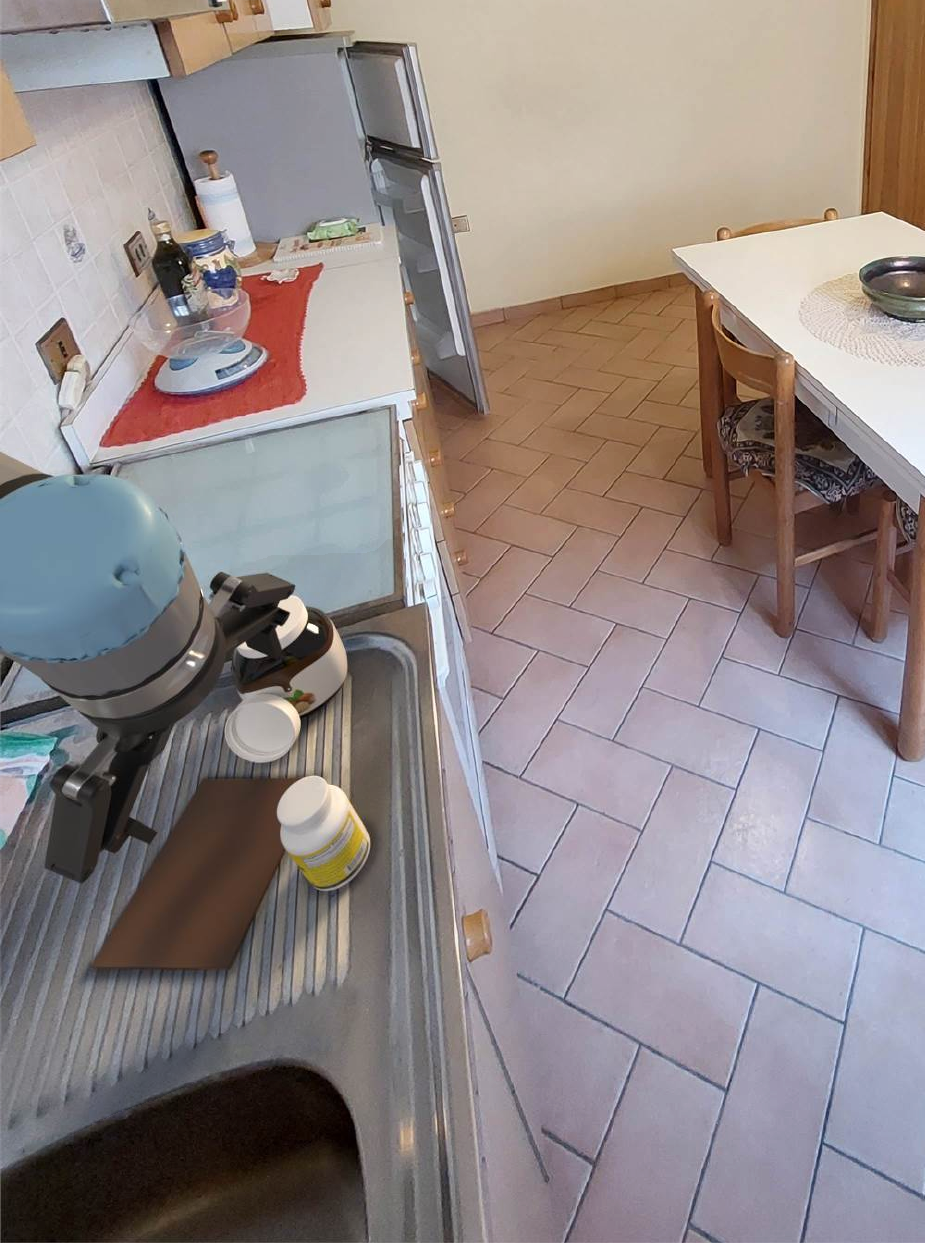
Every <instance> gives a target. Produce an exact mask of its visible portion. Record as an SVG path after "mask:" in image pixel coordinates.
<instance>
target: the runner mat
mask: <svg viewBox="0 0 925 1243" xmlns="http://www.w3.org/2000/svg"><path fill="white" fill-rule="evenodd" d="M302 778H303V777H280V778H279V777H273V778H271V777H270V778H269V777H267V778H266V777H265V778H264V777H263V778H203V779H202V780H201V782H200V783H199V785H198V787H197V788H196V790H195V792H194V793H193V795H192V796H191V799H190V800H189V802H188V803H187V805H186V806H185V808H184V809H183V811H182V813H181V815H180V816H179V818H178V820H177V821H176V823H175V825H174V826H173V828H172V829H171V832H170V833H169V835H168V836H167V838H166V840H165V842H164V843H163V845H162V846H161V848H160V849H159V852H158V853H157V855H156V856H155V858H154V860H153V862H152V863H151V865H150V866H149V868H148V870H147V871H146V873H145V875H144V877H143V878H142V880H141V882H139V885H138V887H137V888H136V890H135V891H134V893H133V894H132V897H131V898H130V900H129V902H128V903H127V905H126V907H125V908H124V910H123V911H122V913H121V915H120V917H119V918H118V920H117V921H116V923H115V925H114V927H113V928H112V930H111V932H110V933H109V934H108V937H107V938H106V940H105V942H104V943H103V945H102V947H101V948H100V950H99V951H98V952H97V955H96V957H95V958H94V960H93V962H92V963H91V965H90V968H91V969H92V970H149V971H150V970H154V971H155V970H156V971H157V970H159V971H161V970H163V971H164V970H165V971H167V970H168V971H230V970H231V968H232V966H233V964H234V961H235V960H236V957H237V955H238V953H239V951H240V949H241V947H242V945H243V942H244V941H245V938H246V936H247V934H248V933H249V930H250V927H251V925H252V923H253V921H254V919H255V917H256V915H257V912H258V910H259V908H260V906H261V904H262V902H263V900H264V898H265V895H266V894H267V891H268V889H269V887H270V884H271V883H272V880H273V878H274V876H275V874H276V872H277V869H278V868H279V866H280V863H281V861H282V859H283V856H284V855H285V853H286V849H285V848H284V846H283V844H282V842H281V837H280V830H281V823H280V822H279V820H278V817H277V807H278V804H279V801H280V799H281V797H282V796H283V794H284V793H285V792H286V791H287V789H288V788H289V787H290V786H291V785H293V784H294V783H295V782H297V781H298V780H300V779H302Z"/></svg>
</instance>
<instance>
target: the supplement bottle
mask: <svg viewBox="0 0 925 1243" xmlns="http://www.w3.org/2000/svg"><path fill="white" fill-rule="evenodd" d="M301 778H302V779H300V780H298V781H297V782H295V783H294V784H293V785H291V786H290V787H289V788H288V789H287V791H286V792H285V793H284V794H283V796H282V797H281V799H280V801H279V804H278V807H277V817H278V820H279V822H280V823H281V830H280V837H281V842H282V844H283V846H284V848H285V849H286V850H285V852H287V854H288V855H289V856H290V858H291V859H292V861H293V862H294V864H295V865H296V866H297V867H298V869H299V870H300V871H301V873H302V875H303V876H304V878H305V879H306V880H307V881H308V883H309V884H310V885H311V886H312V887H313V888H314V889H316V890H318V891H321V892H329V891H330V892H331V891H334V890H338V889H339V888H341V887H344V886H345V885H347V884H349V882H351V881H352V880H353V879H354V878H355V877H357V875H358V874H359V873H360V872H361V871H362V869H363V867H364V865H365V864H366V862H367V860H368V857H369V854H370V850H371V838H370V834H369V832H368V829H367V828H366V826H365V824H364V822H363V821H362V819H361V818H360V816H359V815H358V813H357V811H356V809H355V808H354V806H353V804H352V803H351V801H350V799H349V798H348V795H347V794H346V793H345V792H344V791H343V789H341V788H340V787H339V786H337V785H334V784H328V782H327V781H326V780H325V779H324V778H323V777H321V776H319V775H309V776H304V777H301Z"/></svg>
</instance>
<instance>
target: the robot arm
mask: <svg viewBox="0 0 925 1243" xmlns="http://www.w3.org/2000/svg"><path fill="white" fill-rule="evenodd" d="M184 547H185V546H184V543H182V537H181V535H179V533H178V530H177V528H176V525H175V524H173V523H171V521H170V520H169V517H168V514H167V513H166V511H164V510H163V509H162V508H161V507H159V506H158V505H157V503H156V502H155V501H154V499H153V497H151V496H150V495H149V494H148V493H147V492H146V491H144V490H143V489H142V488H141V487H139V486H137V485H136V484H134V483H133V482H130V481H128V480H125V479H123V478H121V477H117V476H114V475H110V474H98V473H97V474H94V473H93V474H92V473H91V474H89V473H87V474H85V473H84V474H70V473H67V474H61V475H55V476H54V475H51V474H47V473H44V472H42V471H40V470H39V469H36V468H34V467H32V466H30V465H28V464H26V463H24V462H22V461H20V460H18V459H16V458H14V457H12V456H10V455H9V454H6V453H5V452H2V451H0V655H2V656H4V657H6V658H8V659H10V660H12V661H13V662H15V663H16V664H18V665H20V666H22V667H23V668H25V669H26V670H28V671H29V672H31V673H32V674H33V675H35V676H36V677H38V678H39V679H40V680H41V681H42V682H43V683H44V684H45V685H47V686H48V687H49V689H50V690H52V691H53V692H54V693H56V694H57V695H58V696H59V697H60V698H62V699H63V700H64V701H65V703H67V704H69V705H70V706H71V707H72V708H73V709H74V710H76V711H77V712H78V713H79V714H80V715H82V716H83V717H84V718H85V719H87V721H89V722H90V723H91V724H93V725H94V726H95V727H96V728H97V729H96V735H95V739H96V742H97V745H96V746H95V747H94V748H93V749H92V751H91V752H90V753H89V755H88V756H87V757H86V758H85V759H84V761H81V760H79V761H76V763H75V764H73V765H71V764H68V763H66V764H64V765H62V766H61V767H60V768H59V769H58V770H57V771H56V772H55V773H54V774H53V777H52V778H51V780H50V782H49V788H50V789H51V790H52V792H53V793H54V795H55V800H54V805H53V812H52V818H51V824H50V830H49V836H48V843H47V848H46V853H45V860H44V868H43V869H45V870H48V871H50V872H52V873H55V874H57V875H59V876H62V877H64V878H67V879H69V880H71V881H73V882H76V883H79V884H83V883H85V882H86V881H87V880H88V879H89V878H91V877H92V875H93V874H94V872H95V870H96V868H97V865H98V863H99V858H100V854H101V852H103V851H107V852H108V853H111V854H113V855H114V854H116V853H119V852H120V850H121V849H122V847H123V846H124V844H126V842H127V841H128V840H129V837H132V838H134V839H136V840H138V841H141V842H143V843H146V844H148V845H151V844H152V842H153V841H154V839H155V838H156V836H157V835H158V833H159V832H158V831H156V830H154V829H153V828H151V827H150V826H148V825H146V824H144V823H143V822H141V821H140V820H138V819H137V818H133V817H131V814H132V810H133V809H134V806H135V803H136V801H137V798H138V795H139V793H140V791H141V788H142V785H143V784H144V780H145V778H146V776H147V773H148V772H149V768H150V766H151V763H152V762H153V761H154V760H155V759H156V758H157V757H158V756H160V754H162V753H163V751H164V750H165V749H166V746H167V744H168V742H169V739H170V736H171V733H172V731H173V729H174V726H175V724H176V723H177V722H179V721H180V720H182V719H184V718H185V717H186V716H187V715H189V714H191V713H192V712H193V711H194V710H196V708H197V707H199V706H200V705H201V704H202V703H203V702H204V701H205V700H206V698H208V696H209V695H210V694H211V692H212V691H213V689H214V688H215V687H216V684H217V683H218V681H219V679H220V677H221V675H222V672H223V670H224V666H225V664H226V663H227V662H229V661H230V660H232V657H233V653H234V650H235V648H237V647H238V646H240V645H241V644H243V643H244V642H246V645H247V647H249V648H251V649H253V650H256V651H258V652H260V653H263V654H265V655H267V656H270V657H272V658H274V659H278V657H279V656H280V654H281V653H282V651H283V650H282V647H281V644H280V641H279V638H278V635H277V632H276V628H277V626H278V625H279V626H283V625H284V624H285V622H286V621H287V619H288V618H289V615H290V612H289V611H286V610H284V609H282V608H279V607H278V604H279V602H280V601H281V600H286V599H288V598H289V597H290V596H291V595H293V594H294V593H295V592H294V591H295V590H296V584H294V583H292V582H290V581H287V580H285V579H282V578H281V577H278V576H277V575H274V574H272V573H269V572H262V573H256V574H249V575H242V576H233V575H231V574H228V573H226V572H223V571H219V572H218V573H217V574H215V575H214V576H213V578H212V579H211V581H210V584H209V589H210V590H211V591H212V592H210V594H209V596H208V599H209V600H210V602H208V601H207V599H206V597H205V595H204V592H203V591H202V589H201V586H200V583H199V580H198V579H197V576H196V574H195V572H194V570H193V567H192V565H191V563H190V560H189V557H188V555H187V554H186V551H185V549H184ZM150 737H151V738H150Z"/></svg>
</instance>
